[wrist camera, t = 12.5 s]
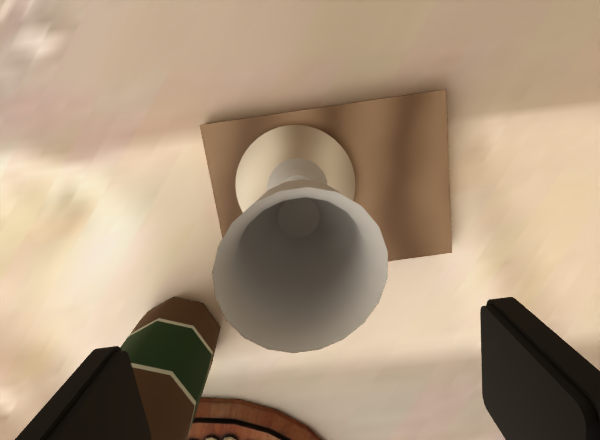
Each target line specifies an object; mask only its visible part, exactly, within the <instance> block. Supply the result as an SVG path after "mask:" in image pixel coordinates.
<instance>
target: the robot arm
mask: <svg viewBox="0 0 600 440" xmlns="http://www.w3.org/2000/svg"><path fill="white" fill-rule="evenodd" d="M480 315H481V354H482V394H483V400H484V404H485V406H486V409H487V410H488V412H489V414H490V415H491V417H492V419H493V420H494V422H495V423H496V425H497V426H498V428H499V430H500V431H501V433H502V434H503V436H504V437H505V439H506V440H600V371H599V370H598V369H597V368H595V367H594V366H593V365H592V364H591V363H590V362H588V361H587V360H586V359H585V358H584V357H583V356H581V355H580V354H579V353H578V352H577V351H575V350H574V349H573V348H572V347H571V346H570V345H568V344H567V343H566V342H565V341H564V340H563V339H561V338H560V337H559V336H558V335H557V334H556V333H554V332H553V331H552V330H551V329H550V328H549V327H547V326H546V325H545V324H544V323H543V322H542V321H540V320H539V319H538V318H537V317H536V316H535V315H533V314H532V313H531V312H530V311H529V310H528V309H526V308H525V307H524V306H523V305H522V304H521V303H519V302H518V301H517V300H516V299H515V298H513V297H507V298H499V299H491V300H488V301H487V305H486V306H482V307H481V312H480ZM15 440H151V432H150V428H149V425H148V421H147V418H146V414H145V411H144V407H143V404H142V400H141V397H140V393H139V389H138V386H137V382H136V379H135V375H134V372H133V368H132V365H131V361H130V358H129V355H128V353H127V352H126V351H122V349H121V348H120V347H118V346H115V347H107V348H99V349H95V350H93V351H92V352H91V354H90V355H89V356H88V357H87V358H86V359H85V360H84V362H83V363H82V364H81V365H80V366H79V367H78V368H77V369H76V371H75V372H74V373H73V374H72V375H71V376H70V377H69V379H68V380H67V381H66V382H65V383H64V384H63V385H62V387H61V388H60V389H59V390H58V391H57V392H56V393H55V395H54V396H53V397H52V398H51V399H50V400H49V401H48V403H47V404H46V405H45V406H44V407H43V408H42V409H41V411H40V412H39V413H38V414H37V415H36V416H35V417H34V418H33V420H32V421H31V422H30V423H29V424H28V425H27V426H26V428H25V429H24V430H23V431H22V432H21V433H20V434H19V436H18V437H17V438H16V439H15Z"/></svg>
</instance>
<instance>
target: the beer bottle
mask: <svg viewBox="0 0 600 440" xmlns="http://www.w3.org/2000/svg"><path fill="white" fill-rule="evenodd" d="M219 331H220V326H219V325H218V323H217V322H216V320H215V319H214V318H213V316H212V315H211V313H210V312H209V311H208V309H207V308H206V307H205V305H204V304H203V303H199V302H194V301H190V300H186V299H181V298H177V297H173V298H171V299H169V300H167V301H166V302H164V303H162V304H160V305H158V306H157V307H155V308H153V309H151V310H150V311H148V312H147V313H146V314H145V316H144V317H143V318H142V319H141V320H140V321H139V323H138V324H137V326H136V327H135V328H134V330H133V331H132V332H131V334H130V335H129V337H128V338H127V339H126V341H125V342H124V343H123V345H122V346H121V349H122V351H126V352H127V353H128V355H129V358H130V361H131V365H132V368H133V372H134V375H135V379H136V382H137V386H138V389H139V393H140V397H141V400H142V404H143V407H144V411H145V414H146V418H147V421H148V425H149V428H150V432H151V440H187V438H188V435H189V432H190V429H191V426H192V423H193V420H194V417H195V414H196V411H197V408H198V405H199V402H200V398H201V395H202V392H203V389H204V386H205V383H206V380H207V377H208V374H209V371H210V368H211V365H212V361H213V356H214V352H215V348H216V344H217V339H218V335H219Z"/></svg>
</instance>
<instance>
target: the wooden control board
mask: <svg viewBox="0 0 600 440" xmlns="http://www.w3.org/2000/svg"><path fill="white" fill-rule="evenodd" d="M187 440H321V439H320V438H319V437H318V436H317V435H316V434H315V433H314V432H313V431H312V430H311V429H310V428H309V427H307V426H306V425H304V424H302V423H300V422H298V421H296V420H294V419H293V418H291V417H289V416H287V415H285V414H283V413H281V412H280V411H278V410H276V409H272V408H269V407H265V406H261V405H258V404H254V403H250V402H247V401H243V400H239V399H220V398H200V402H199V405H198V408H197V411H196V414H195V417H194V420H193V423H192V426H191V429H190V432H189V435H188V438H187Z"/></svg>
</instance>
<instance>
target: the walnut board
mask: <svg viewBox="0 0 600 440" xmlns="http://www.w3.org/2000/svg"><path fill="white" fill-rule="evenodd" d="M200 129H201V134H202V139H203V143H204V148H205V153H206V158H207V163H208V168H209V173H210V178H211V183H212V188H213V193H214V198H215V203H216V208H217V213H218V218H219V223H220V228H221V233H222V237H224V236H225V234H226V232H227V231H228V229H229V227H230V225H231V224H232V222H234V221H235V220H236V219H237V218H238V217H239V216H240V215H241V214H242V213H243V212H245V211H246V210H247V209H248V208H249V207H250V206H251V205H252V204H254V203H255V202H256V201H257V200H258V199H259V198H260V197H261V196H262V195H263V194H264V193H265V192H267V185H268V180H269V177H270V175H271V173H272V172H273V170H274V169H275V168H276V167H277V166H278V165H279V164H280V163H282V162H284V161H286V160H289V159H294V158H302V159H306V160H310V161H311V162H313V163H315V164H316V165H318V166H319V168H320V169H321V170H322V171H323V172H324V175H325V177H326V179H327V185H328V186H330V187H332V188H334V189H335V190H337V191H339V192H340V193H341V195H343V196H345V197H347V198H349V199H350V200H352V201H354V202H356V203H357V204H359V205H361V206H362V207H363V208H364V209H365V211H366V212H367V213H368V214H369V215H370V216H371V218H372V219H373V220H374V221H375V222H376V224H377V225H378V226H379V228H380V231H381V234H382V237H383V239H384V242H385V245H386V248H387V251H388V261H393V260H400V259H408V258H415V257H423V256H430V255H438V254H445V253H452V240H451V213H450V186H449V159H448V132H447V105H446V90H439V91H432V92H425V93H418V94H411V95H404V96H397V97H390V98H383V99H376V100H369V101H363V102H356V103H349V104H342V105H335V106H328V107H321V108H314V109H307V110H300V111H293V112H286V113H279V114H272V115H266V116H259V117H252V118H245V119H238V120H231V121H224V122H217V123H210V124H203V125H200Z"/></svg>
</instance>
